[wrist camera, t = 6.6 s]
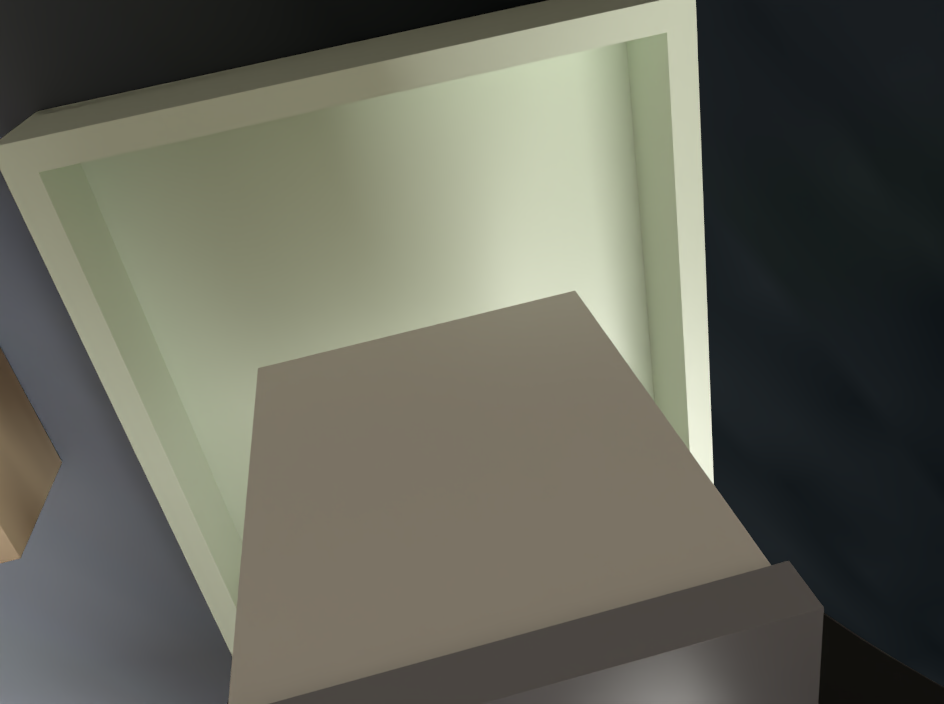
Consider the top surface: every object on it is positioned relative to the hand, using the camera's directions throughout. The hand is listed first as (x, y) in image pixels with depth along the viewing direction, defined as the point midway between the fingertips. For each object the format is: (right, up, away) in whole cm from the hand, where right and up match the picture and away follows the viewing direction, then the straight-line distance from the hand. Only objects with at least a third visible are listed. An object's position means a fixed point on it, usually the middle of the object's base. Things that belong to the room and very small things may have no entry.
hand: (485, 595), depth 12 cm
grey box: (0, +1, +1) cm, 2 cm away
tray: (-1, +3, +6) cm, 7 cm away
